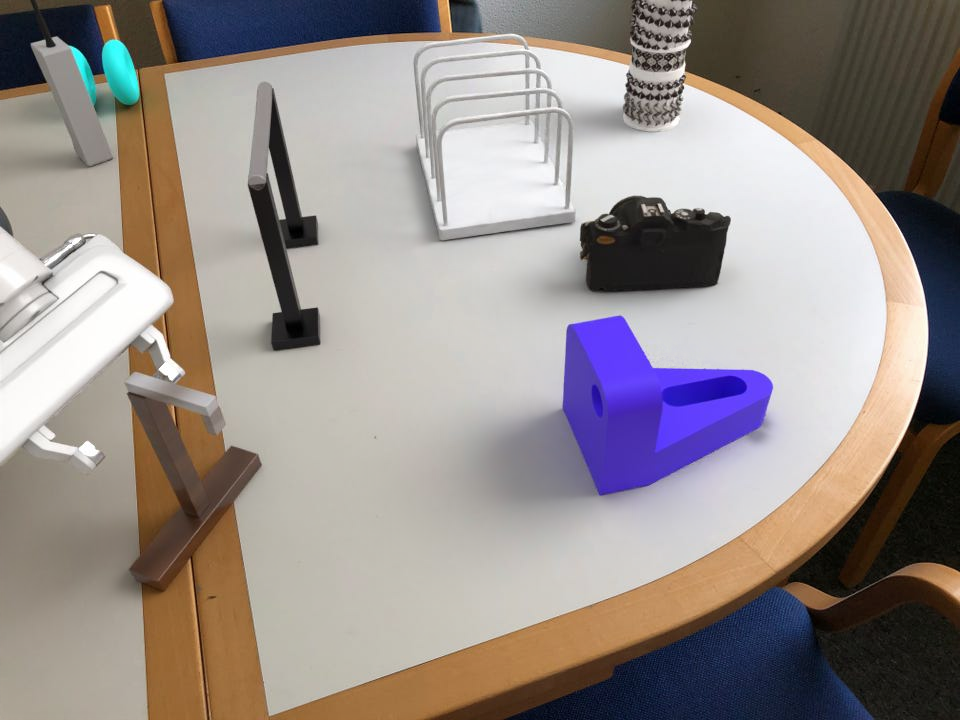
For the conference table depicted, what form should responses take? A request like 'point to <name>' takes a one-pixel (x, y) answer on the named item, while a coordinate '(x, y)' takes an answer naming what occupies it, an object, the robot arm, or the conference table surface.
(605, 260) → the film camera
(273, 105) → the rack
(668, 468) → the bracket
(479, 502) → the conference table surface
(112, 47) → the donuts
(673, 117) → the white patterned cylinder
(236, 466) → the headphone stand
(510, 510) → the conference table surface
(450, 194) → the file sorter
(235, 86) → the conference table surface
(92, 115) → the vintage mobile phone
